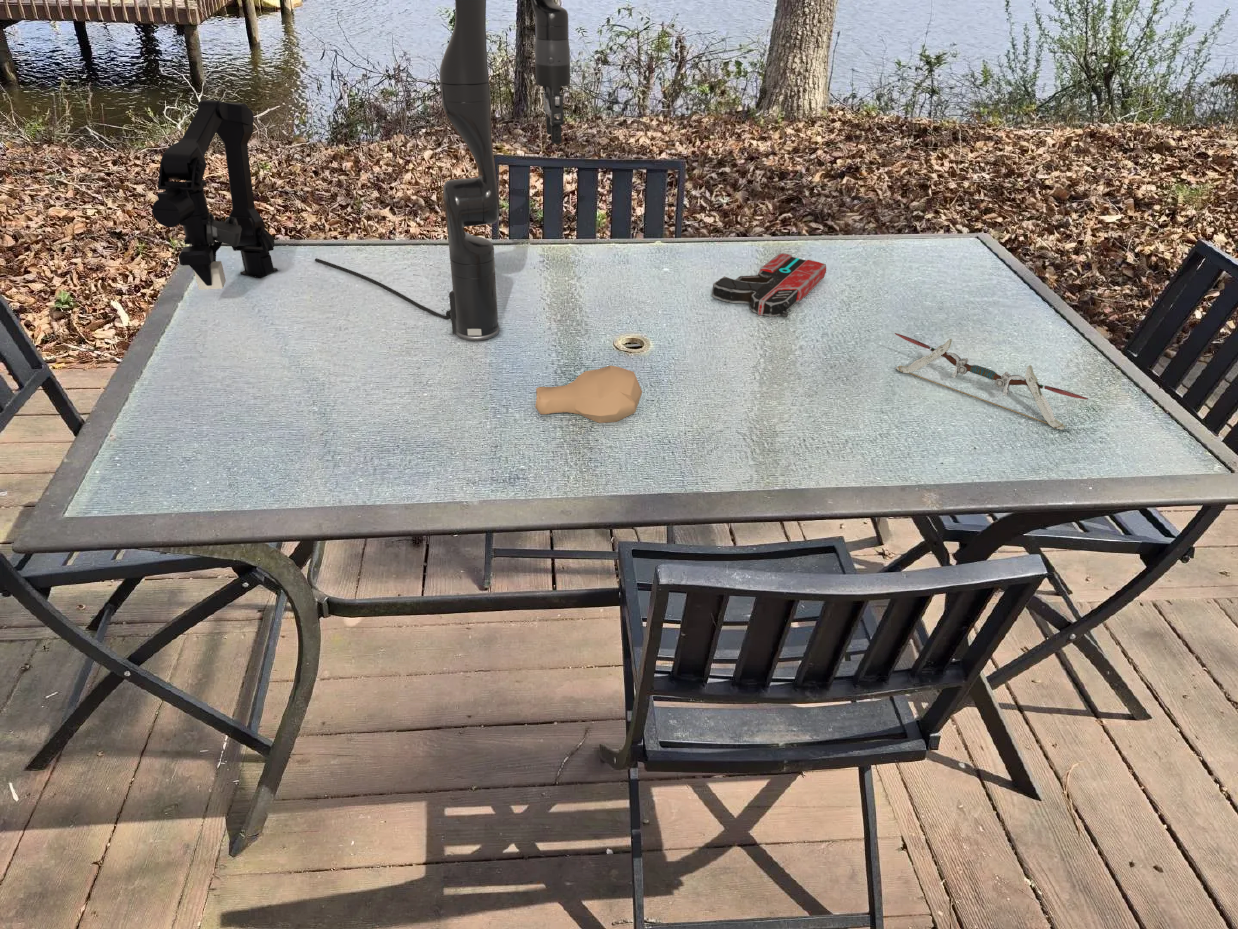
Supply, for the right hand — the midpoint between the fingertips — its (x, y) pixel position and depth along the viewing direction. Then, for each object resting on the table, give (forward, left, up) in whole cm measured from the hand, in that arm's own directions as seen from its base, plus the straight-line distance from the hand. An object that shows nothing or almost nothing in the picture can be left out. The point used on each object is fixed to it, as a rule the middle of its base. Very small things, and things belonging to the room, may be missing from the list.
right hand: (553, 138), depth 199 cm
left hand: (-64, -46, -28) cm, 83 cm away
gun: (+50, +16, -34) cm, 63 cm away
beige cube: (-64, -46, -29) cm, 84 cm away
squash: (+32, -56, -34) cm, 74 cm away
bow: (+100, -20, -34) cm, 108 cm away
